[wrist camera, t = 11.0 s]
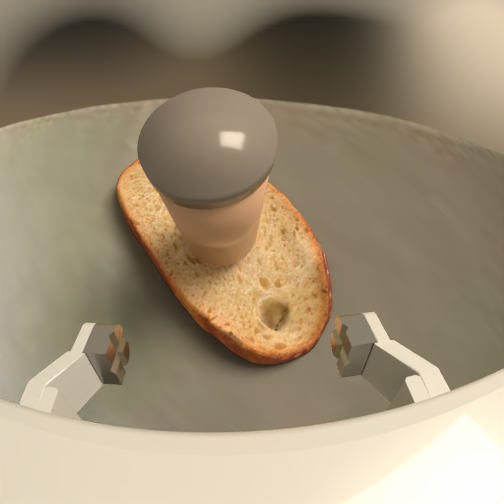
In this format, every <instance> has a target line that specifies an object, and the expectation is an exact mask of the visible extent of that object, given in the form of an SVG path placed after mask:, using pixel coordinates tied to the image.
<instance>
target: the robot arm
mask: <svg viewBox="0 0 504 504" xmlns="http://www.w3.org/2000/svg"><path fill="white" fill-rule="evenodd" d="M335 327H336V330H334V331H333V332H332V337H331V347H332V351H333V355H334V356H335V357H336V358H338V362H337V367H338V370H339V372H340V375H341V377H349V376H356V375H362V377H363V378H365V379H366V380H367V381H368V382H369V383H370V384H371V385H372V386H373V387H375V388H376V389H377V390H378V391H379V392H380V393H381V394H382V395H383V396H385V397H386V398H387V399H388V400H389V401H390V402H391V404H390V406H389V407H388V409H387V410H386V411H383V412H379V413H375V414H371V415H366V416H362V417H357V418H352V419H347V420H342V421H336V422H330V423H324V424H318V425H311V426H303V427H295V428H286V429H276V430H264V431H248V432H174V431H159V430H147V429H137V428H128V427H120V426H113V425H106V424H100V423H94V422H89V421H83V420H82V419H81V418H80V417H79V415H78V414H77V412H78V411H79V410H80V409H81V408H82V407H83V406H84V405H85V404H86V402H87V401H88V400H89V399H90V398H91V397H92V396H93V395H94V394H95V393H96V391H97V390H98V389H99V388H100V387H101V386H102V385H103V384H102V383H104V384H117V385H122V382H123V378H124V374H125V370H124V368H123V366H125V365H126V364H127V363H128V360H129V345H128V342H127V340H126V339H125V338H124V337H123V336H122V335H123V330H122V327H121V325H118V324H103V323H85V324H83V326H82V328H81V330H80V332H79V335H78V337H77V339H76V341H75V343H74V345H73V347H72V350H71V352H69V351H68V352H66V353H65V354H64V355H62V356H61V357H60V358H58V359H57V360H56V361H54V362H53V363H52V364H50V365H49V366H48V367H46V368H45V369H44V370H43V371H41V372H40V373H39V374H37V375H36V376H35V377H34V378H32V379H31V380H30V381H29V382H28V384H27V386H26V389H25V391H24V393H23V396H22V398H21V400H20V403H19V404H16V403H13V402H10V401H7V400H4V399H2V398H0V504H504V368H503V369H501V370H499V371H497V372H495V373H493V374H491V375H488V376H486V377H484V378H482V379H479V380H477V381H474V382H472V383H470V384H467V385H465V386H462V387H460V388H457V389H454V390H452V391H450V389H449V387H448V386H447V384H446V382H445V380H444V378H443V376H442V375H441V373H440V371H439V369H438V368H437V367H436V366H434V365H432V364H431V363H429V362H428V361H426V360H424V359H423V358H421V357H420V356H418V355H416V354H415V353H413V352H412V351H410V350H408V349H407V348H405V347H404V346H402V345H400V344H399V343H397V342H396V341H394V340H391V341H390V339H389V337H388V336H387V334H386V332H385V330H384V328H383V326H382V324H381V323H380V321H379V319H378V317H377V315H376V314H375V313H374V312H369V313H362V314H354V315H345V316H337V318H336V320H335Z"/></svg>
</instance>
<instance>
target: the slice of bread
mask: <svg viewBox="0 0 504 504" xmlns="http://www.w3.org/2000/svg"><path fill="white" fill-rule="evenodd" d="M117 199H118V201H119V203H120V205H121V210H122V213H123V215H124V217H125V219H126V221H127V223H128V225H129V227H130V228H131V230H132V232H133V234H134V235H135V237H136V239H137V240H138V242H139V243H140V244H141V245H142V247H143V248H144V249H145V251H146V253H147V254H148V256H149V258H150V260H151V261H152V263H153V264H154V266H155V267H156V269H157V270H158V272H159V273H160V274H161V276H162V277H163V279H164V281H165V282H166V284H167V285H168V287H169V288H170V290H171V291H172V292H173V294H174V295H175V296H176V298H177V299H178V300H179V301H180V303H181V304H182V305H183V306H184V308H185V309H186V310H187V311H188V312H189V313H190V315H191V316H192V317H193V319H194V320H195V321H196V322H197V323H198V324H199V325H200V326H201V327H202V328H203V329H204V330H205V331H206V332H208V333H210V334H212V335H213V336H214V337H216V338H217V339H218V340H219V341H220V342H221V343H223V344H224V345H225V346H226V347H228V348H229V349H230V350H232V351H233V352H234V353H236V354H238V355H239V356H241V357H242V358H244V359H246V360H248V361H251V362H253V363H260V364H279V363H285V362H288V361H291V360H294V359H296V358H298V357H301V356H303V355H305V354H307V353H308V352H310V351H311V350H312V349H313V348H314V347H315V345H316V344H317V342H318V341H319V339H320V337H321V335H322V333H323V331H324V329H325V327H326V325H327V323H328V321H329V319H330V316H331V312H332V286H331V279H330V273H329V267H328V262H327V259H326V256H325V253H324V251H323V249H322V247H321V246H320V244H319V242H318V241H317V239H316V237H315V235H314V233H313V231H312V230H311V228H310V226H309V225H308V223H307V222H306V221H305V220H304V218H303V217H302V216H301V214H300V213H299V212H298V211H297V210H296V209H295V208H294V207H293V205H292V204H291V203H290V201H289V200H288V198H287V197H286V196H285V195H283V194H282V193H281V192H279V191H278V190H277V189H276V188H275V187H274V186H273V185H272V184H270V183H269V182H267V187H266V192H265V197H264V202H263V207H262V212H261V218H260V223H259V228H258V233H257V238H256V241H255V244H254V246H253V248H252V249H251V251H250V252H249V253H248V254H247V255H246V256H245V257H244V258H243V259H241V260H239V261H238V262H235V263H233V264H230V265H224V266H217V265H211V264H207V263H205V262H203V261H201V260H199V259H198V258H197V257H196V256H195V255H194V254H193V253H192V252H191V251H190V249H189V247H188V246H187V244H186V242H185V240H184V239H183V237H182V235H181V233H180V232H179V230H178V228H177V226H176V224H175V223H174V221H173V219H172V217H171V215H170V214H169V212H168V210H167V208H166V206H165V204H164V203H163V201H162V199H161V197H160V195H159V193H158V192H157V191H156V190H155V189H154V188H153V186H152V185H151V184H150V182H149V180H148V178H147V176H146V174H145V173H144V171H143V169H142V167H141V165H140V161H139V159H138V160H136V161H135V162H134V163H133V164H131V165H130V166H129V167H128V168H126V169H125V170H124V171H123V172H122V174H121V175H120V177H119V179H118V183H117Z"/></svg>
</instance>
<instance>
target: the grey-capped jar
mask: <svg viewBox="0 0 504 504" xmlns="http://www.w3.org/2000/svg"><path fill="white" fill-rule="evenodd" d="M277 142H278V135H277V129H276V125H275V122H274V120H273V118H272V116H271V115H270V113H269V112H268V111H267V109H266V108H265V107H264V106H263V105H262V104H261V103H259V102H258V101H257V100H255V99H254V98H252V97H250V96H248V95H246V94H244V93H242V92H239V91H235V90H232V89H226V88H215V87H213V88H201V89H195V90H191V91H187V92H184V93H182V94H179V95H177V96H175V97H173V98H171V99H169V100H168V101H166V102H165V103H163V104H162V105H161V106H159V107H158V108H157V109H156V110H155V111H154V112H153V113H152V114H151V115H150V117H149V118H148V119H147V121H146V122H145V124H144V126H143V128H142V130H141V133H140V135H139V140H138V150H137V151H138V158H139V161H140V165H141V167H142V169H143V171H144V173H145V174H146V176H147V178H148V180H149V182H150V184H151V185H152V186H153V188H154V189H155V190H156V191H157V192H158V193H159V195H160V197H161V199H162V201H163V203H164V204H165V206H166V208H167V210H168V212H169V214H170V215H171V217H172V219H173V221H174V223H175V224H176V226H177V228H178V230H179V232H180V233H181V235H182V237H183V239H184V240H185V242H186V244H187V246H188V247H189V249H190V251H191V252H192V253H193V254H194V255H195V256H196V257H197V258H198V259H199V260H201V261H203V262H205V263H207V264H211V265H217V266H224V265H230V264H233V263H235V262H238V261H239V260H241V259H243V258H244V257H245V256H246V255H247V254H248V253H249V252H250V251H251V249H252V248H253V246H254V244H255V241H256V238H257V233H258V228H259V223H260V218H261V212H262V207H263V202H264V197H265V192H266V187H267V181H268V176H269V174H270V171H271V169H272V167H273V163H274V159H275V154H276V149H277Z"/></svg>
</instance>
